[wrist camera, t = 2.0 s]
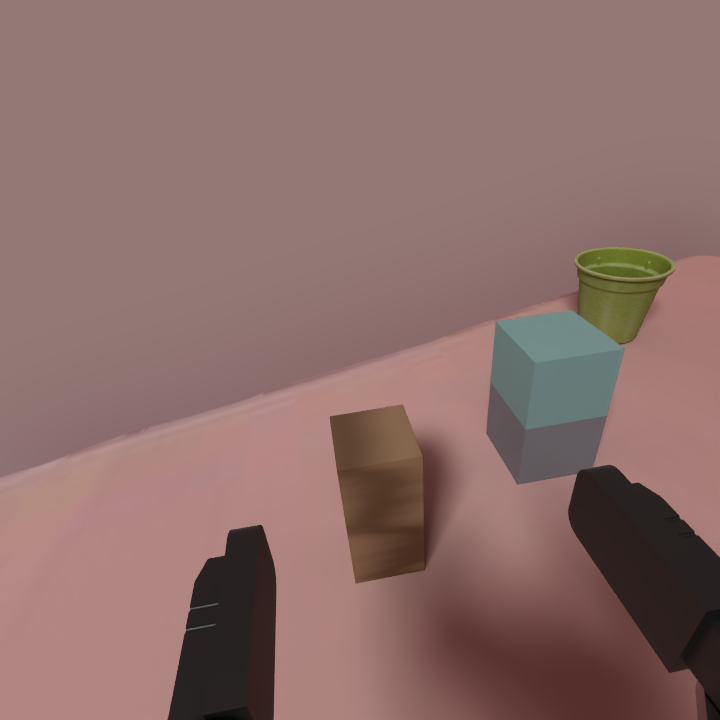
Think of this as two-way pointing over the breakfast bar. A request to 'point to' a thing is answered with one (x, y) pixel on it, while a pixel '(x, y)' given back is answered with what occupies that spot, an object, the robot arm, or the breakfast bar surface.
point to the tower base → (541, 443)
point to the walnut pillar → (380, 491)
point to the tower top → (554, 368)
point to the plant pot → (619, 288)
